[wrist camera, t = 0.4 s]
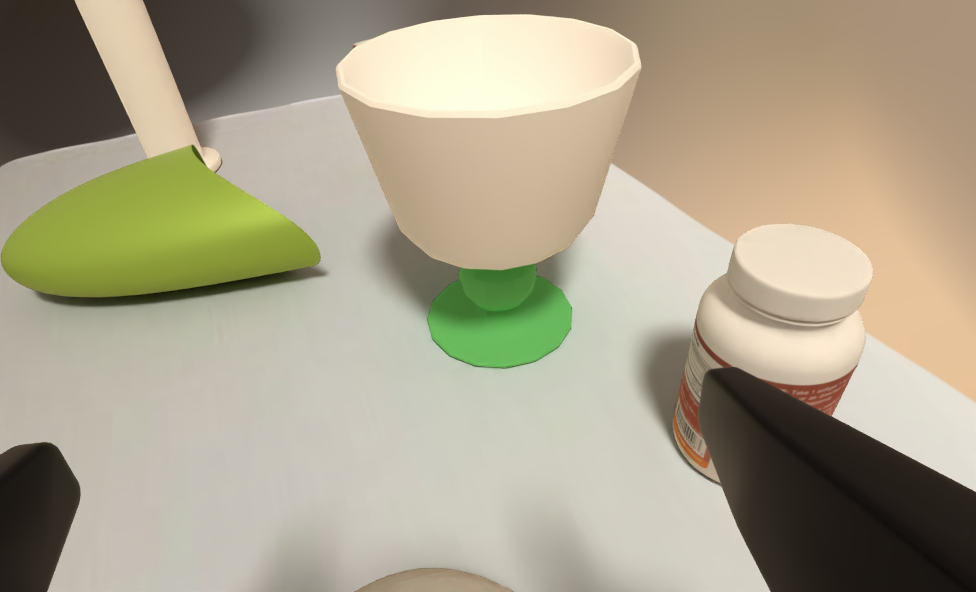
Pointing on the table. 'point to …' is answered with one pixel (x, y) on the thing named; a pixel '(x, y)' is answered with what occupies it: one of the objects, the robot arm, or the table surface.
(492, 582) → the decorative object
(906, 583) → the robot arm
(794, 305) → the pill bottle
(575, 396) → the table surface
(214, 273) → the green curved piece
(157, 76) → the candle
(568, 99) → the cup
